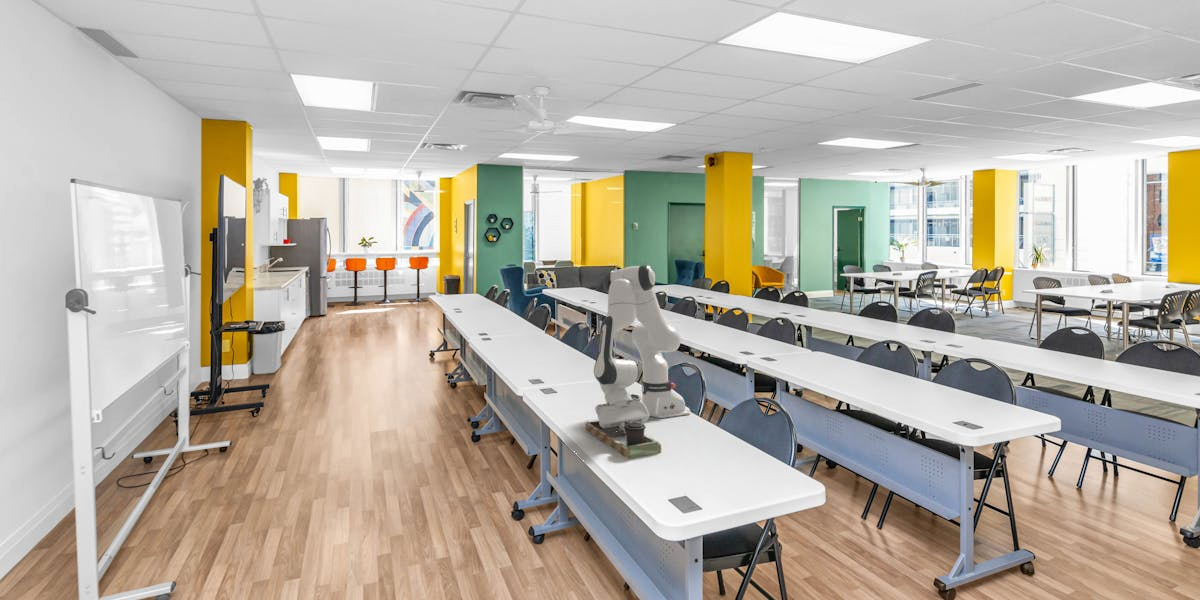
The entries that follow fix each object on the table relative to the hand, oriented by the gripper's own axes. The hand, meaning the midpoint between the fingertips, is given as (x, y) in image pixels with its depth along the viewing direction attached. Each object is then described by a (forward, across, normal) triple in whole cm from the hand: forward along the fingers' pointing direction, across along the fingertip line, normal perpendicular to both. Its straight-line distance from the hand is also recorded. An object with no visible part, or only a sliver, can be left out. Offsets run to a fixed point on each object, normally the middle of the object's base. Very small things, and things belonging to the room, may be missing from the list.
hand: (630, 433), depth 237 cm
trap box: (-2, 0, +9) cm, 9 cm away
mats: (-9, 0, +16) cm, 18 cm away
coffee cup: (+7, 0, 0) cm, 7 cm away
